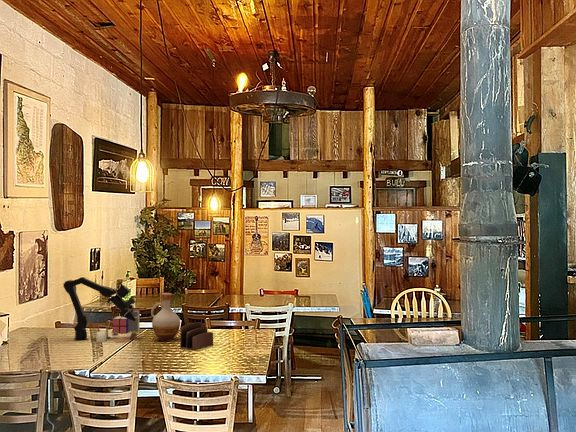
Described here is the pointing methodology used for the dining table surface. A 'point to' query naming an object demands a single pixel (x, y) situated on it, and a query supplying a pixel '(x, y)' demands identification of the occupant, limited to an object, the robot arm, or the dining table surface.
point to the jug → (165, 320)
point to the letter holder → (195, 337)
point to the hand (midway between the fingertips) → (136, 319)
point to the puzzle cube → (120, 325)
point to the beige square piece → (101, 336)
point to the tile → (121, 340)
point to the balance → (107, 331)
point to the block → (133, 335)
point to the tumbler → (134, 324)
